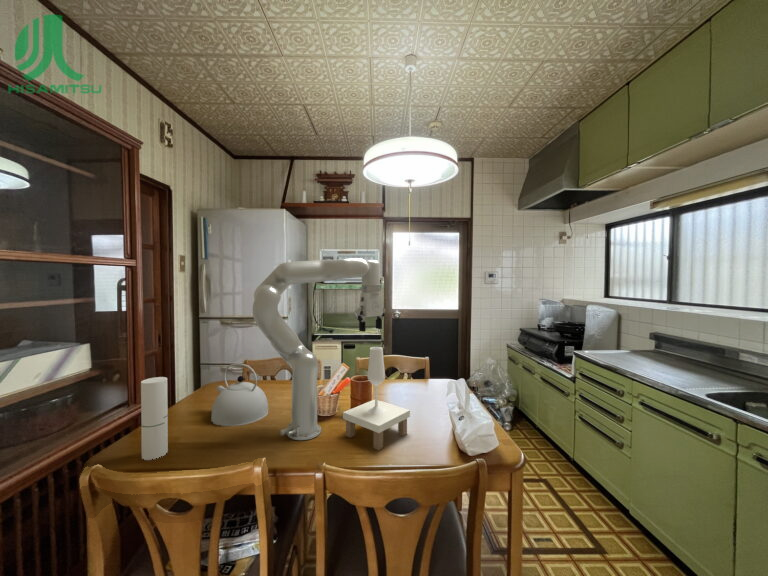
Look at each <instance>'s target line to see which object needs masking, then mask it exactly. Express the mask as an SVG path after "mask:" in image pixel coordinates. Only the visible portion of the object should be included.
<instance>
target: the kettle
mask: <svg viewBox="0 0 768 576" xmlns="http://www.w3.org/2000/svg"><path fill="white" fill-rule="evenodd" d="M235 366H242V367H246V368H248V369H249V370H250V372H251V373H253V376H254V383H252V382H249V381H244V380H245V377H244V376H243V375H239V376H238V377H237V378H236V379H237V382H236V383H235V382H234V383H231V384H230V385H229V384H228V382H227V371H228V369H229V368H231V367H235ZM256 373H257V372H256V371H255V370H254V368H252V367H251V366H249V365H248V364H244V363H231V364H229V365H227V366H226V368H225V369H224V372H223V381H224V384H225V387H224V386H223V385H218V386H217V387H216V388H215V389H217V392H218V393H219V394H218V395H217V396H216V398H215V399H214V401H213V405H212V408H211V419H210V421H211V423H212V422H213V423H212V424H214V425H216V426H219V425H221V426H220V427H237V426H244V425H249V424H252V423H255V422H258V421H259V420H262V419H263V418H265V417H266V416H267V415H268V414H269V403H268V398H267V396H266V394H265V392H264V390H262V388H261V387H259V386H258V377H257V374H256Z"/></svg>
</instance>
